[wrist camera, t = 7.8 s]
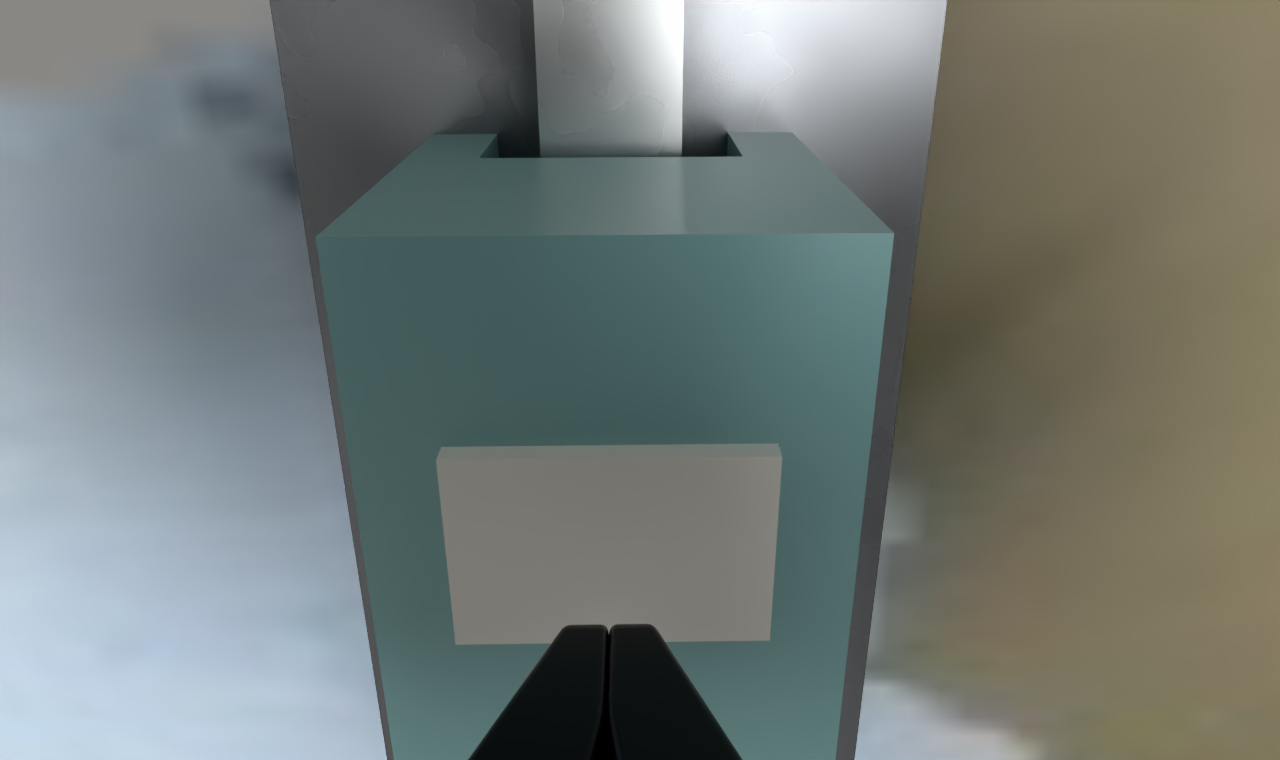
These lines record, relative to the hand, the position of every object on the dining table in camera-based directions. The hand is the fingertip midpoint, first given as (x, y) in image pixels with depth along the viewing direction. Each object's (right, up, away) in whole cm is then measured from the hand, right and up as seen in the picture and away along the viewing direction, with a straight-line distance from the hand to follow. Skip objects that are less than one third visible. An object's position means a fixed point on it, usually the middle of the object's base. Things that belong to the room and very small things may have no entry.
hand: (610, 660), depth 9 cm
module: (0, +3, +7) cm, 8 cm away
